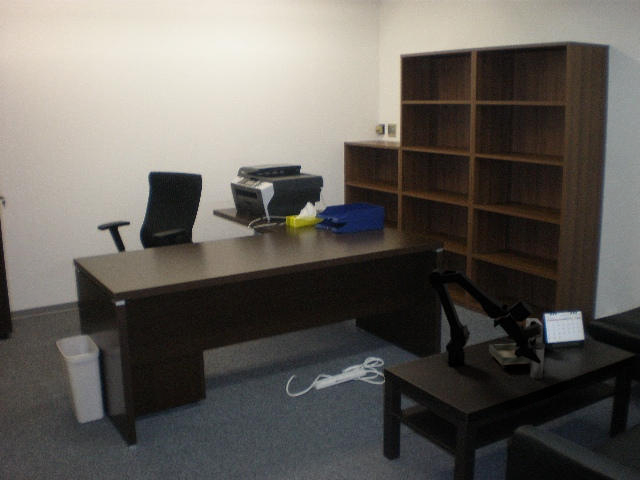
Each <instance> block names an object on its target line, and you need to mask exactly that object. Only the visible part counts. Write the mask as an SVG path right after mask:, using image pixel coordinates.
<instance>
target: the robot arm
mask: <svg viewBox="0 0 640 480" xmlns="http://www.w3.org/2000/svg"><path fill="white" fill-rule="evenodd" d="M427 279H428V283H429V284H430V286H431V288H432V289H433V290H434V292H435V293H436V294H437V295H438V298H439V302H440V303H441V306H442V309H443V313H444V315H445V317H446V320H447V322H448V325H449V334H450V335H449V336H450V339H449V340H448V343H446V345H445V350H446V351H445V359H444V361H445V363H446V364H447V366H448V367H463V366H465V365H466V364H465V361H466V360H465V359H466V357H465V356H466V352H465V349H464V347H465V346H466V345H467V343H468V342H469V340H470V336H471V335H470V334H471V333H470V331H469V329H468V324H465V325H464V324H463V323H462V321H461V320H460V317H459V315H458V313H457V310H456V307H455V304H454V301H453V299H452V297H451V293H450V291H449V284H458V285H459V286H460V287H461V288H462V289H463V290H464V291H465V292H467V293H468V294H469V296H471V297H472V298H473V299H474V300H475V301H477V303H479V305H480V307H481V308H482V310H483V312H484V313H485V314H486V315H487V316H488V317H489V318H490V319H492V320H493V319H494V320H493V328H496V327H498V326H499V327H501V329H502V330H503V331H504V332H505V334H506V335H507V338H508V339H509V340H510V339H511V340H512V341H513V342H514V343H516V345H515V346H516V347H517V348H516V349H515V354H514V355H515V356H516V357H517V358H520V357H522V356H523V357H525V358H528V359H530V360H532V361H534V362H536V363H539V364H540V363H541V360H540V359H539V357H538V356H537V354H536V353H535V351H534V345H532V343H533V342H536V339H537V338H534V339H533V338H532V337H533V336H536V335H540V334H541V332H542V330H541V328H540V324H539V323H537V322H536V321H531V322H530V326H528V327H526V326H524V325H523V324H519V322H520V323H523V322H524V321H526V319H527V318H530V316H532V315H534V310H533V309H532V307H531V305H530V304H528V303H526V302H525V301H523V300H522V299H520V300H518V301H517V302H516V303H515V304H514V305H509V304H505V303H503V302H502V301H500V300H499V299H498V298H495V297H494V296H492V295H489V294H487V292H486V291H484V290H483V289H482V288H481V287H479V286H478V285H477V284H476V283H475V281H474V280H472V279H471V278H469V277H468V275H466V274H465V272H464V271H462V270H451V269H443V268H439V267H437V268H435V269H433V270H432V272H430V273H429V275H428V277H427Z"/></svg>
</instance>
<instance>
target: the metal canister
mask: <svg viewBox="0 0 640 480" xmlns="http://www.w3.org/2000/svg"><path fill="white" fill-rule="evenodd" d="M532 345H534V351H535V353H536V354H537V356H538V357H539V359H540V360H541V363H540V364H539V363H536V362H534V361H532V360H531V367H530V371H529V372H530V373H529V376H530V377H531V378H533V379H536V380H539V379H542V378H543V375H544V373H543V370H544V356H545V347H546V344H545V343H544V342H542V343H541V342H533V343H532Z"/></svg>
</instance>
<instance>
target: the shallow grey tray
mask: <svg viewBox="0 0 640 480" xmlns="http://www.w3.org/2000/svg"><path fill="white" fill-rule="evenodd" d="M515 345H516V343H515V342H514V343H498V344H497V343H495V344H488V346H489V347H488V351H489V353H490V354H491V358H492V359H496V360H497V361H498V363H499V364H500V365H501V369H507V366H508V365H526V364H528V368H531V360H530V359H528V358H525V357H523V356H522V357H520V358H517V357H516V356H515V355H514V354H515V349H516V348H517V347H516V346H515Z"/></svg>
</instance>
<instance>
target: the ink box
mask: <svg viewBox="0 0 640 480" xmlns="http://www.w3.org/2000/svg"><path fill="white" fill-rule="evenodd" d="M531 321H536V322H537V323H539V324H540V328H541V330H542V332H541V334H540V335H536V336H533V337H532V338H533V339H534V338H537V339H536V342H541V343H543V334H544V324H543V323H542V322H541V321H540V320H539V319H538V318H536V317H535V318H533V317H532V318H531V317H528V318H527V319H525V327H528V326H530V322H531Z"/></svg>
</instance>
